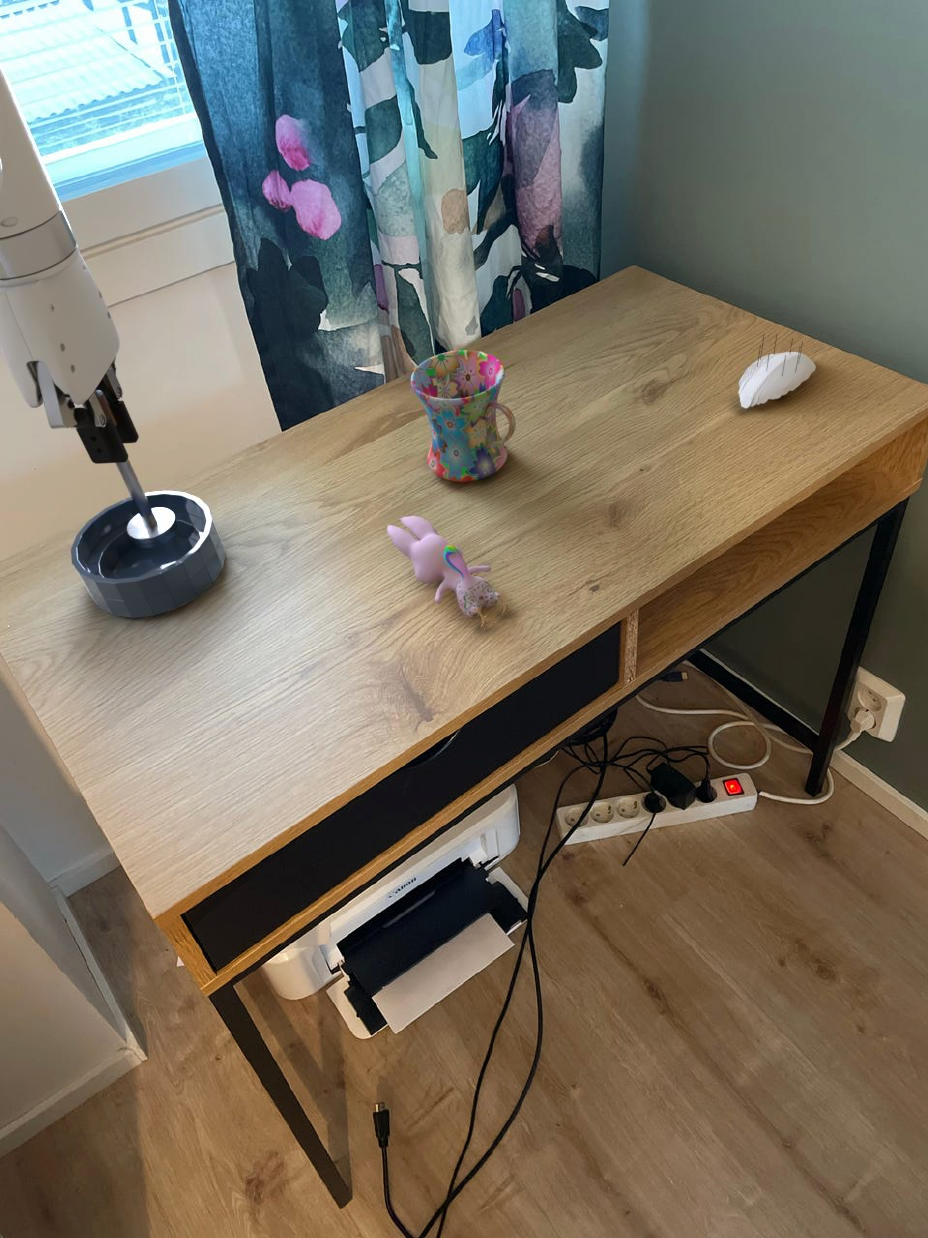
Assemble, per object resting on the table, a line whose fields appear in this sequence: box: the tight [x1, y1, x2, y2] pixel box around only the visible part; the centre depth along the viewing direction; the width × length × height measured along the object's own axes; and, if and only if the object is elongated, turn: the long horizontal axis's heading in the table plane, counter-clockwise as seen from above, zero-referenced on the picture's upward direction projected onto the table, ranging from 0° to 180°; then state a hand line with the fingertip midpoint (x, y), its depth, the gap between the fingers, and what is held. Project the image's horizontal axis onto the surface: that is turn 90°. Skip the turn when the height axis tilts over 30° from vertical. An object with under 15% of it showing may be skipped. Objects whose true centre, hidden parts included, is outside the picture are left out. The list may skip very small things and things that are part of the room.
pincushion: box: [737, 335, 817, 409], centre depth 97 cm, size 12×6×6 cm, turn 133°
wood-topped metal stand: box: [81, 390, 179, 548], centre depth 80 cm, size 5×5×15 cm
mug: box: [410, 349, 517, 483], centre depth 91 cm, size 12×9×11 cm
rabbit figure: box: [386, 515, 512, 631], centre depth 80 cm, size 6×6×15 cm
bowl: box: [70, 490, 227, 619], centre depth 86 cm, size 13×13×5 cm
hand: (116, 449), depth 79 cm, fingers closed on wood-topped metal stand
